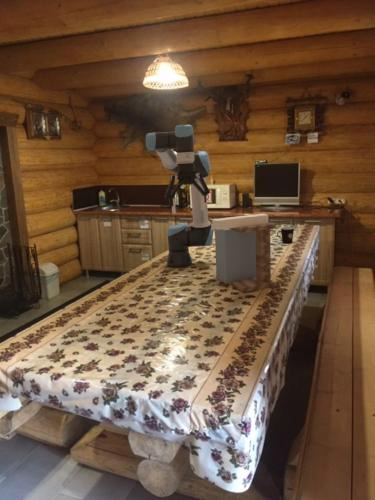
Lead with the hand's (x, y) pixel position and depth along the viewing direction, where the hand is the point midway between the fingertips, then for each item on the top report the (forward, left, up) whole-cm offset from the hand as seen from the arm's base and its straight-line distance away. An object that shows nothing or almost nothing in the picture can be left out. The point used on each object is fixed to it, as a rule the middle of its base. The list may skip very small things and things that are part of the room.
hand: (188, 212), depth 185 cm
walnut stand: (+30, +6, -39) cm, 49 cm away
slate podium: (+24, +20, -39) cm, 50 cm away
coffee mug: (+73, +91, -39) cm, 123 cm away
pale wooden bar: (+24, +5, -9) cm, 26 cm away
